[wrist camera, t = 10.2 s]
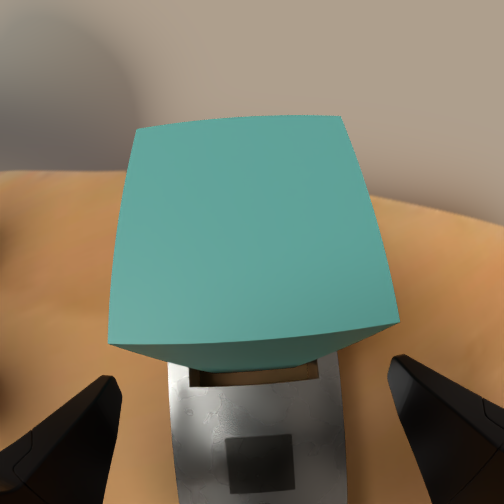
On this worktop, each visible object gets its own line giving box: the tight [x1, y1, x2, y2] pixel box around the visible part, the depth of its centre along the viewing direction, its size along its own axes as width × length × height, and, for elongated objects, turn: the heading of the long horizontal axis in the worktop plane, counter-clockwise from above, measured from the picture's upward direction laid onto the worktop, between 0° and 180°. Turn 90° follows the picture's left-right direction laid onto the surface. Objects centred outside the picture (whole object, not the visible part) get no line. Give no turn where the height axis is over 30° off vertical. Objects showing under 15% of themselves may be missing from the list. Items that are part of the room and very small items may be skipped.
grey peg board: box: [168, 351, 347, 504], centre depth 13 cm, size 21×8×3 cm, turn 4°
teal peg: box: [108, 115, 400, 373], centre depth 11 cm, size 4×4×13 cm
